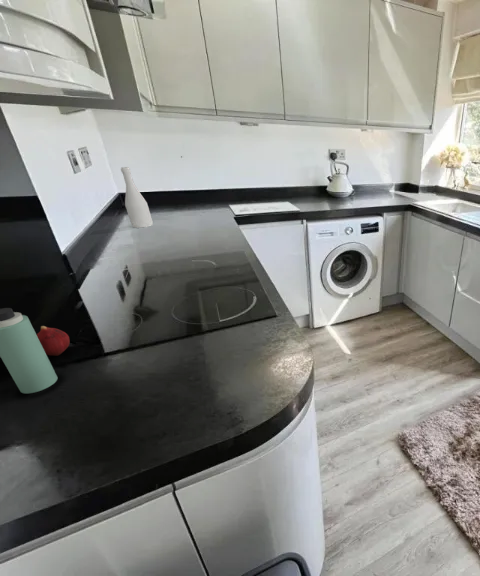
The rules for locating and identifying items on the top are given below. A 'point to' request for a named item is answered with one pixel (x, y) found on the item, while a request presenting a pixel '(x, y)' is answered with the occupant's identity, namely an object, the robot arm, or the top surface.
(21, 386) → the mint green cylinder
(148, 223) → the wine bottle
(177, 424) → the top surface
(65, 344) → the onion
